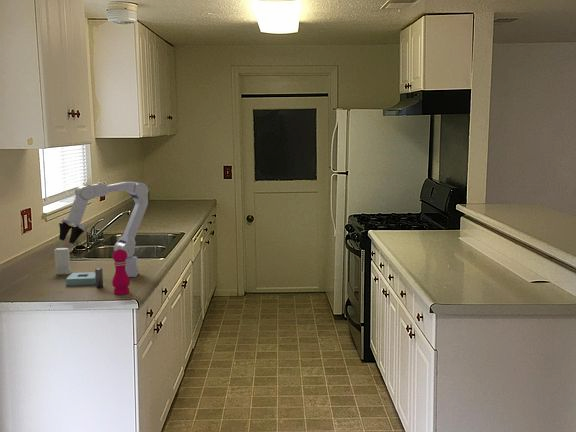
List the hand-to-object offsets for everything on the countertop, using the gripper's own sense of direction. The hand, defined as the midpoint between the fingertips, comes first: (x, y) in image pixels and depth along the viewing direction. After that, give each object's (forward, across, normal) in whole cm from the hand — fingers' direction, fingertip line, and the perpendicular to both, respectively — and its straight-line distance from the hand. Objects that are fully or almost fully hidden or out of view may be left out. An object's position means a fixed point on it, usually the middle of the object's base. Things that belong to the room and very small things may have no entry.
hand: (66, 241), depth 272 cm
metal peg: (+14, +15, +13) cm, 25 cm away
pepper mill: (+13, +30, +13) cm, 36 cm away
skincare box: (+15, -20, +18) cm, 31 cm away
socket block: (+15, +1, +14) cm, 21 cm away
